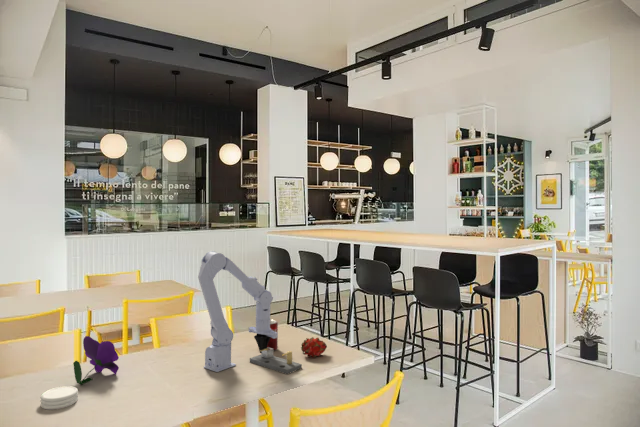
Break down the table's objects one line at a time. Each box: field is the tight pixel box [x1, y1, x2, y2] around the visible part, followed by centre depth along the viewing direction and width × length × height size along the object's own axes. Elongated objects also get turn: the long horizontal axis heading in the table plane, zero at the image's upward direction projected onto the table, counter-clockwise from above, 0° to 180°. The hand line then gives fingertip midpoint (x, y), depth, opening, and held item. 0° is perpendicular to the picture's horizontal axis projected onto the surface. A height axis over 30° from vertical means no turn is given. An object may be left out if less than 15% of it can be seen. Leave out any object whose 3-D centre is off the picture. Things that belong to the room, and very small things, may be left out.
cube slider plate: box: [249, 350, 303, 375], centre depth 171 cm, size 8×20×6 cm, turn 52°
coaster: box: [40, 385, 79, 411], centre depth 136 cm, size 10×10×4 cm
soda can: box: [267, 319, 279, 352], centre depth 189 cm, size 7×7×12 cm
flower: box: [72, 335, 120, 385], centre depth 154 cm, size 15×15×14 cm
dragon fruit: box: [300, 336, 328, 358], centre depth 182 cm, size 8×8×12 cm
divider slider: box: [259, 347, 274, 358], centre depth 175 cm, size 6×3×4 cm, turn 142°
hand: (262, 352), depth 177 cm, fingers closed
